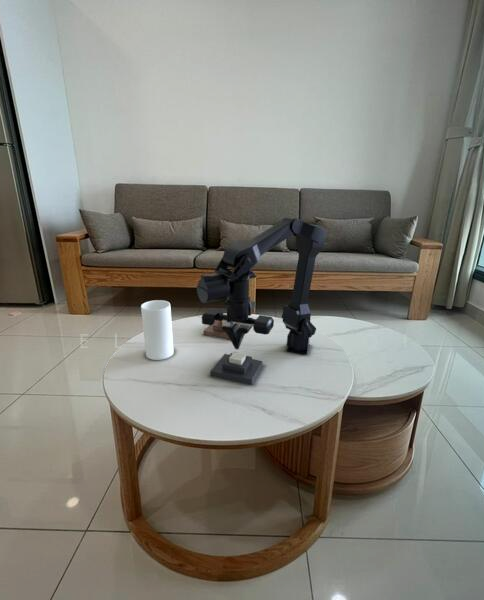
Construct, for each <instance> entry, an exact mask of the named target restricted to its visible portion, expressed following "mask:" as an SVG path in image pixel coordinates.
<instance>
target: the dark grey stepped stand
mask: <svg viewBox="0 0 484 600" xmlns="http://www.w3.org/2000/svg"><path fill="white" fill-rule="evenodd" d="M233 353H234V352H230V354H228V353H224V354H223V355H222V356H221V358H220V359H219V360H218V361H217V363H216V364H215V365H214V366H213V367H212V369H211V370H210V377H212V378H217V379H222V380H227V381H232V382H235V383H240V384H246V385H250V386H252V385H253V384H254V382H255V380H256V378H257V377H258V375H259V373H260V372H261V369H262V368H263V365H264V361H263V360H259V359H255V358H253V356H250V355H246V360H245V361H244V363H243V364H242V365H237V364H232V363H229V358H230V356H231V355H232V354H233Z"/></svg>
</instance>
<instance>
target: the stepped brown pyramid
mask: <svg viewBox="0 0 484 600" xmlns="http://www.w3.org/2000/svg"><path fill="white" fill-rule="evenodd" d="M222 326H223V325H219V321H218V320H215V323H214V324H213V325H207V327H206V328H205V329H204V330H203V335H204V336H207V337H213V338H219V339H225V340H230V338H229V337H228V335H227V334H226V332H225V331H224V330H222V329H221V327H222ZM239 327H240V326H239V324H238V328H239Z"/></svg>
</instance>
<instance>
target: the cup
mask: <svg viewBox="0 0 484 600" xmlns="http://www.w3.org/2000/svg"><path fill="white" fill-rule="evenodd" d="M171 308H172V307H171V303H170V302H169V301H167V300H162V299H159V300H158V299H155V300H149V301H145V302H144V303H141V305H140V311H141V320H142V321H141V322H142V329H143V340H144V350H145V356H146V358H147V359H149V360H152V361H162V360H165V359H168V358H170V357H172V356H173V355H174V353H175V351H174V337H173V323H172V321H173V320H172V309H171Z"/></svg>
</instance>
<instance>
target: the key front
mask: <svg viewBox="0 0 484 600" xmlns="http://www.w3.org/2000/svg"><path fill="white" fill-rule="evenodd" d="M232 353H233V354H232V355H231V356H230V358H229V363H232V364H237V365H242V364H243V363H244V361H245V360H246V356H247V354H246V353H241V352H235V351H234V352H232Z"/></svg>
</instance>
